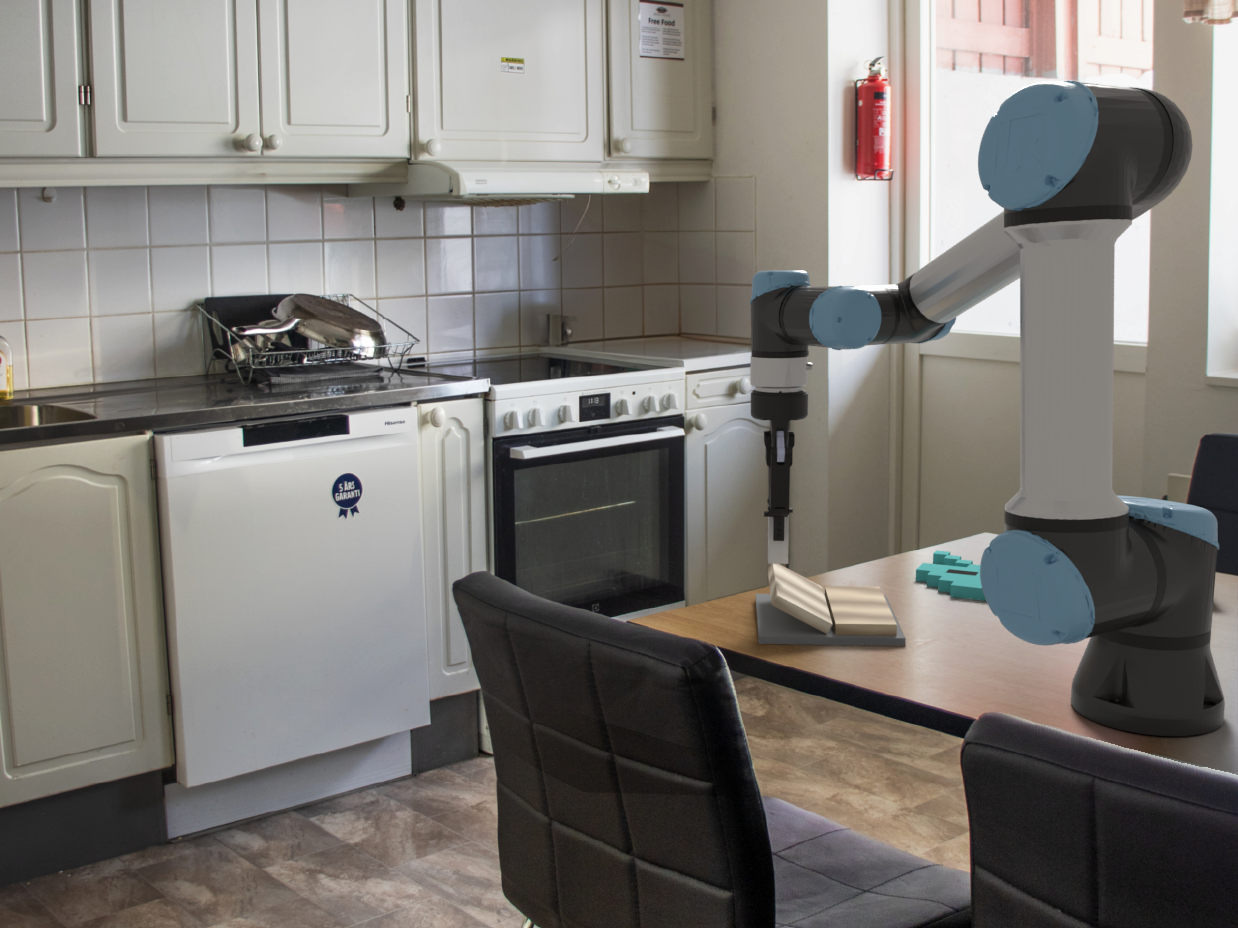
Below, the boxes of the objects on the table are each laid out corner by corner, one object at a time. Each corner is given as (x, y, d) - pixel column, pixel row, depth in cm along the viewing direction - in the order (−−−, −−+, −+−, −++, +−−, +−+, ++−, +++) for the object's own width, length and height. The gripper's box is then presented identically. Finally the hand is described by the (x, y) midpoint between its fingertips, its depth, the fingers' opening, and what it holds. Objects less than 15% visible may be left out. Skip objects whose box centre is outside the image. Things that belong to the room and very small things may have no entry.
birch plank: (826, 634, 154) (832, 624, 153) (771, 605, 154) (777, 595, 153) (817, 595, 171) (822, 586, 171) (767, 569, 171) (772, 560, 171)
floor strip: (896, 635, 153) (896, 624, 153) (835, 634, 154) (835, 623, 153) (879, 596, 170) (879, 586, 170) (824, 596, 171) (824, 585, 171)
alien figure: (936, 563, 194) (904, 594, 177) (936, 550, 194) (904, 579, 176) (1066, 577, 185) (1046, 610, 168) (1067, 563, 185) (1047, 595, 167)
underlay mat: (905, 645, 152) (905, 638, 152) (758, 643, 154) (758, 636, 153) (885, 601, 172) (885, 594, 171) (755, 600, 173) (755, 593, 173)
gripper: (811, 393, 151) (809, 575, 155) (805, 383, 164) (803, 550, 168) (751, 394, 152) (750, 574, 156) (750, 383, 165) (749, 550, 169)
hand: (777, 562), depth 162 cm, fingers closed
